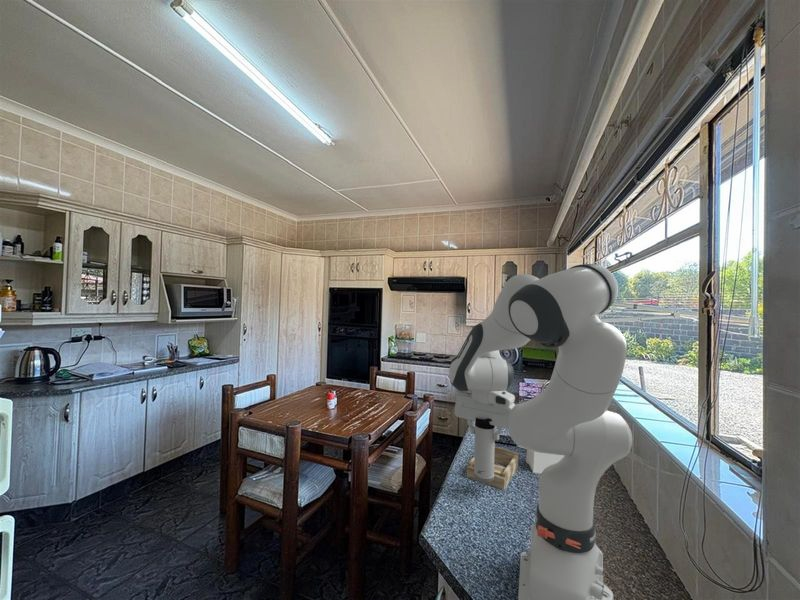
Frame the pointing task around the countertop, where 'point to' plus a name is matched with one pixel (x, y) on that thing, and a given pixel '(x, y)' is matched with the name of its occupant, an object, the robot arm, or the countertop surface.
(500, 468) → the offcut top
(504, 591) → the countertop surface
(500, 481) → the birch rack
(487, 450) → the travel mug
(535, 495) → the countertop surface
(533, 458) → the milk
